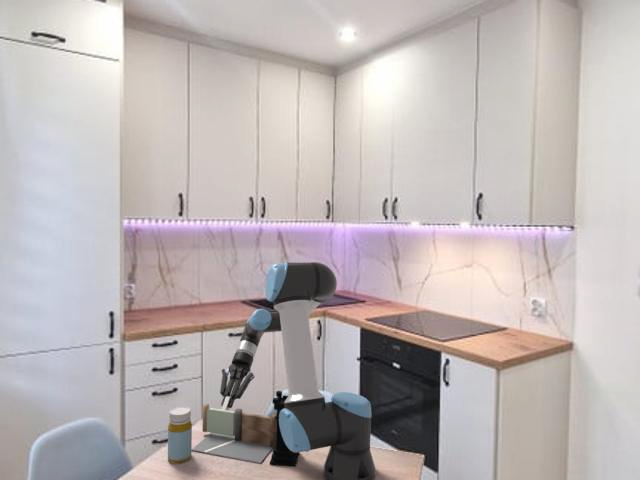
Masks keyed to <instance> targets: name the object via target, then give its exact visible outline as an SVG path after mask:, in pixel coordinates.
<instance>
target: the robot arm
mask: <svg viewBox="0 0 640 480" xmlns="http://www.w3.org/2000/svg"><path fill="white" fill-rule="evenodd" d="M267 271H268V272H267V274H266V277H265V285H264V288H265V297H266V300H267V301H268V302H271V303H273V304H272V305H273V309H274V310H275V311H273V312H271V311H269V310H267V309H265V308H258V309H256V310H254V312H253V313H252V314H251V315H250V317H249V318H248V319H247V320H246V323H245V325H244V328H243V332H242V334H241V337H240V339H239V342H238V344H237V347H236V349H235V353H234V354H233V358H232V361H231V364H230V365H229V366H228V368H226V369H225V368H222V369H221V373H222V376H221V377H222V378H221V384H220V390H219V394H220V395H221V396H222V397H223V399H222V400H221V402H220V403H221V405H220V406H221V408H220V409H221V410H228V411H230V409H232V407H233V405H234V403H235V400H240V399H241V398H242V397H243V394H244V393H245V391H246V390H247V388H248V386H249V384H250V383H251V381H253V380H254V379H255V375H254V373H253V372H251V369H252V365H253V364H254V363H253V362H254V358H255V356H256V353H257V350H258V349H259V348H258V346H259V344H260V342H261V339H262V337H263V335H264V334H265V333H275V332H281V339H282V348H283V356H284V363H285V364H284V366H285V374H286V382H287V391H288V395H287V396H288V397H287V399H286V400H285V402H284V405H285V408H284V409H282V410H281V411H280V413H279V426H280V431H281V434H282V437H283V440H284V442H285V444H286V446H287V447H288V448H289V450H291V451H292V452H295V453H297V452H300V453H304V452H305V453H307V452H310V451H315V450H318V449H322V448H323V449H324V448H328V447H329V450H328V454H327V456H326V459H325V461H324V465H323V476H324V478H325V479H326V480H376V465H375V461H374V459H373V456H372V452H371V434H372V433H371V432H372V431H371V430H372V428H371V427H372V417H373V416H372V405H371V402H370V401H369V399H367V398H366V397H364V396H362V395H360V394H357V393H353V392H345V391H342V392H341V391H340V392H339V391H338V392H335V393H333V394H332V395H331V399H330V400H331V401H328V402H327V401H326V399H325V395H324V394H322V393H321V392H320V391H319V387H318V379H317V372H316V365H315V356H314V349H313V341H312V334H311V327H310V319H309V316H310V314H312V313H313V311H314V310H316V308H318V306H320V305H321V304H322V303H326V302H328V301H329V300H331V298H332V297H333V296H334V295H335V293H336V290H337V286H338V285H337V284H338V282H337V277H336V275H335V272H334V271H333V270H332V269H331V268H330V267H329V266H328V265H326V264H324V263H320V262H316V261H315V262H286V261H285V262H279V263H274V264H272V265H271V266H270V267H269V269H268V270H267ZM229 374H230V376H229ZM228 376H229V379H228Z"/></svg>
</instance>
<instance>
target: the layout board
mask: <svg viewBox="0 0 640 480" xmlns="http://www.w3.org/2000/svg"><path fill="white" fill-rule="evenodd" d="M273 450H274V447H270V446H269V445H263V444H257V443H251V442H246V441H242V440H240V441H235V435H234V436H228V435H222V434H216V433H210V432H209V434H208V435H206V437H204V438H203V439H202V440H201V441H200V442H198V443H197V444H196V445H195V446H194V447H193V448H191V452H194V453H195V452H196V453H199V454H200V453H201V454H207V455H211V456H217V457H222V458H228V459H232V460H233V459H234V460H239V461H244V462H250V463H253V464H260V465H261V464H262V463H263V462H264V460H265V459H266V458H267V457H268V456H269V454H270V453H271V452H272V451H273Z"/></svg>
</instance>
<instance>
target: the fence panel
mask: <svg viewBox="0 0 640 480" xmlns="http://www.w3.org/2000/svg"><path fill="white" fill-rule="evenodd" d="M209 406H210V404H209V403H204V404H202V430H201V431H202V432H203V433H209V434H210V433H216V434H222V435H228V436H234V435H235V410H234V411H233V410H229V411H228V410H221V409H222V408H214V407H209Z"/></svg>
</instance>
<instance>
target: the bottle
mask: <svg viewBox="0 0 640 480" xmlns="http://www.w3.org/2000/svg"><path fill="white" fill-rule="evenodd" d="M191 412H192V410H191V408H190V407H188V406H177V407H174V408H171V409H170V411H169V422H168V423H169V424H168V426H167V460H168V462H170V463H172V464H176V465H177V464H183V463H186V462H187V461H189V459H191V457H192V451H191V450H192V449H193V448H192V447H193V446H192V443H193V442H192V441H193V440H192V439H193V436H192V434H193V433H192V432H193V428H192V427H193V425H192V421H191V415H192V413H191Z"/></svg>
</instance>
